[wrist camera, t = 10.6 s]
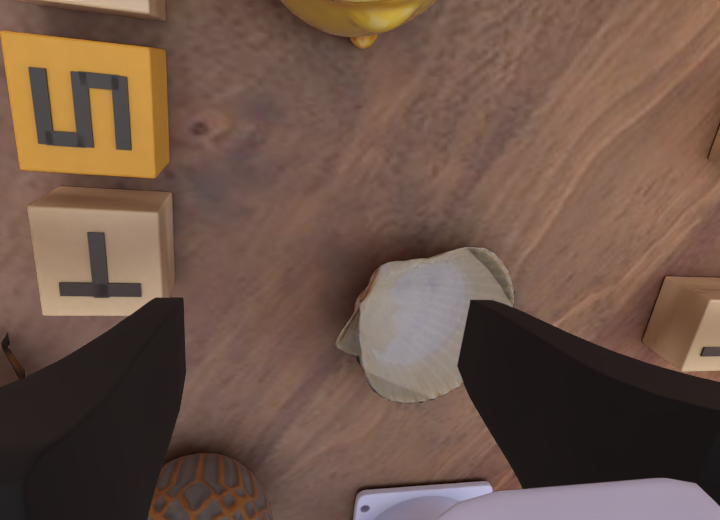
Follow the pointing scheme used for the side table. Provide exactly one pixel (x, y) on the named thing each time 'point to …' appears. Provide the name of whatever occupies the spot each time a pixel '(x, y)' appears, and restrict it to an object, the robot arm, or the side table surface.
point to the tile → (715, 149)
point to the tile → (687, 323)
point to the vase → (208, 490)
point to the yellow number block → (87, 105)
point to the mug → (357, 16)
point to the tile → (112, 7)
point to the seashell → (421, 320)
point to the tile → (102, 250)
